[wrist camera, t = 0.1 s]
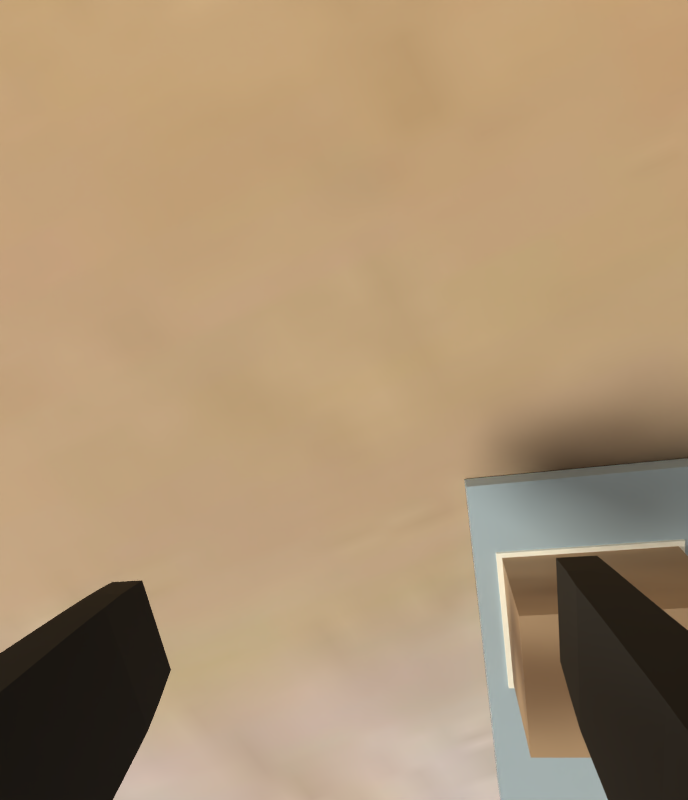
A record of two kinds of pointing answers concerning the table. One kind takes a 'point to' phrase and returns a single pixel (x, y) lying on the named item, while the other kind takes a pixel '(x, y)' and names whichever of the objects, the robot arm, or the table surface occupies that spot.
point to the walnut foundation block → (539, 635)
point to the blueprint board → (547, 535)
